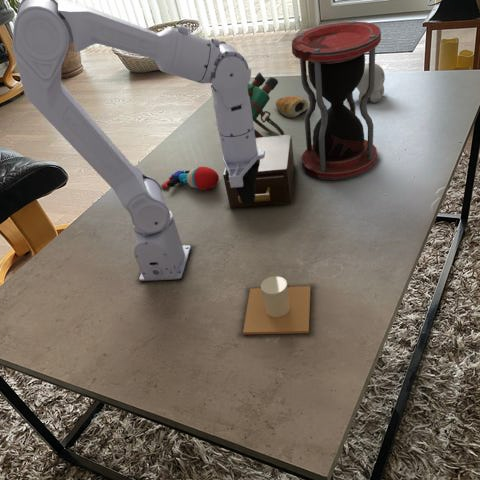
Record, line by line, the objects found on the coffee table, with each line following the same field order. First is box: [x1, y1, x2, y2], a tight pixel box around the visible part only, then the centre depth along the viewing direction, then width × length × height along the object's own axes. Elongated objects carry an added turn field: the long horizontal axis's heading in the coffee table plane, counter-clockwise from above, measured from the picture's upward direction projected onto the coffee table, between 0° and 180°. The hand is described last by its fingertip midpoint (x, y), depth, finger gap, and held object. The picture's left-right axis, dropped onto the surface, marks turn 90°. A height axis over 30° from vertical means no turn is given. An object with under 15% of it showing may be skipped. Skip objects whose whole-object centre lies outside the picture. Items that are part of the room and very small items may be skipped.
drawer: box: [226, 173, 288, 208], centre depth 99 cm, size 17×11×6 cm, turn 173°
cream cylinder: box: [260, 275, 290, 317], centre depth 75 cm, size 4×4×5 cm
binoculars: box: [247, 72, 286, 138], centre depth 115 cm, size 14×14×15 cm
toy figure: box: [160, 166, 220, 191], centre depth 108 cm, size 8×5×15 cm
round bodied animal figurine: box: [355, 62, 386, 103], centre depth 124 cm, size 7×12×8 cm, turn 62°
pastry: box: [275, 95, 309, 118], centre depth 128 cm, size 9×7×4 cm
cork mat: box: [242, 285, 312, 335], centre depth 77 cm, size 10×10×1 cm
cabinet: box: [222, 134, 295, 209], centre depth 102 cm, size 15×13×8 cm
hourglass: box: [291, 20, 382, 181], centre depth 98 cm, size 16×16×25 cm
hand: (248, 202), depth 88 cm, fingers closed
